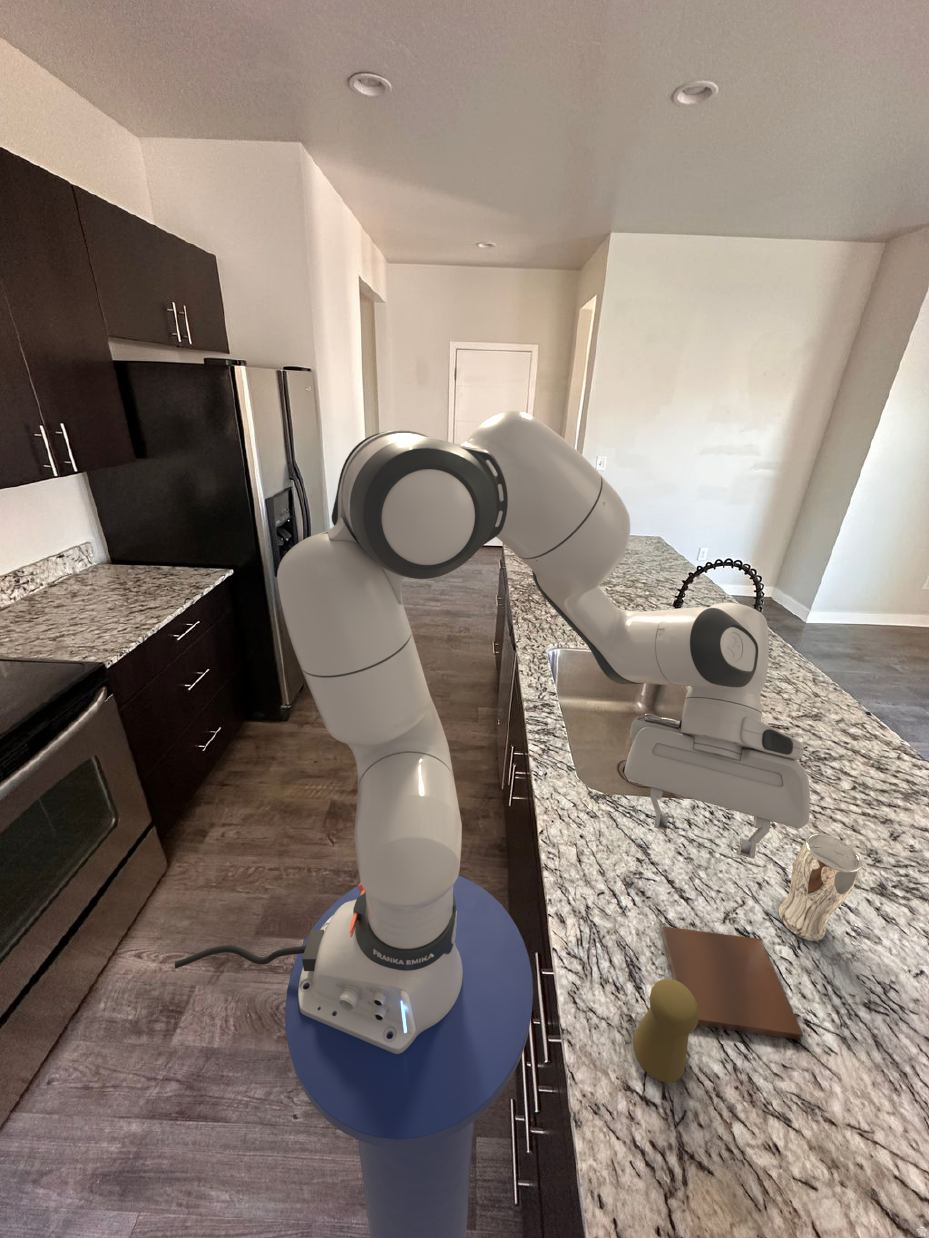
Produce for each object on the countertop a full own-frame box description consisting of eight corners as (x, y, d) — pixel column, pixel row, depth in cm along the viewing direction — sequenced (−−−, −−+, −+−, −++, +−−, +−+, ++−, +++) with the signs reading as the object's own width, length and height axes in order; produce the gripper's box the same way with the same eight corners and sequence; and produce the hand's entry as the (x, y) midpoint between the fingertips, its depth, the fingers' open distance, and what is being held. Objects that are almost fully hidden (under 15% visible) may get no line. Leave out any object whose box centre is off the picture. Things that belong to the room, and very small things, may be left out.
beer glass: (764, 907, 77) (792, 837, 71) (797, 895, 79) (827, 827, 73) (804, 950, 71) (839, 878, 65) (839, 936, 73) (876, 865, 67)
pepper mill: (635, 1014, 63) (650, 960, 58) (685, 1035, 61) (705, 981, 56) (630, 1067, 58) (646, 1013, 53) (685, 1093, 56) (707, 1039, 51)
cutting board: (684, 1023, 62) (686, 1017, 62) (660, 931, 73) (662, 925, 73) (800, 1040, 61) (803, 1034, 60) (758, 943, 72) (761, 938, 71)
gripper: (632, 706, 64) (611, 815, 60) (820, 748, 55) (807, 877, 52) (634, 713, 69) (615, 813, 66) (805, 752, 61) (793, 869, 57)
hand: (701, 842), depth 59 cm, fingers open, 8 cm apart
